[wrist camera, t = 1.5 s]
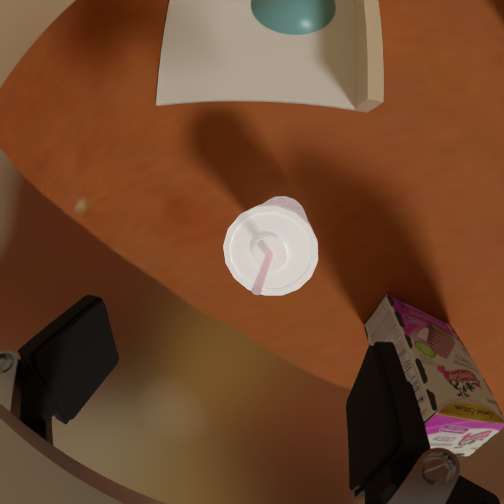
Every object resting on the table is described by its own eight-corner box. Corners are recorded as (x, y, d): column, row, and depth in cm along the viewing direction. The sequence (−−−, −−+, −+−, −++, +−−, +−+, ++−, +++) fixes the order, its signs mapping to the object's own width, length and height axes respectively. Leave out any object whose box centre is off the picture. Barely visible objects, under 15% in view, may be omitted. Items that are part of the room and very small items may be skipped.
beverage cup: (287, 174, 24) (267, 198, 11) (327, 227, 25) (346, 304, 12) (236, 213, 26) (171, 274, 14) (276, 262, 27) (247, 358, 14)
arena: (360, -30, 14) (367, -58, 9) (367, 112, 21) (383, 101, 16) (177, -26, 18) (156, -48, 12) (158, 105, 24) (127, 98, 19)
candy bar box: (452, 322, 26) (509, 423, 11) (428, 352, 28) (468, 458, 13) (385, 288, 26) (438, 414, 11) (361, 325, 28) (385, 455, 13)
